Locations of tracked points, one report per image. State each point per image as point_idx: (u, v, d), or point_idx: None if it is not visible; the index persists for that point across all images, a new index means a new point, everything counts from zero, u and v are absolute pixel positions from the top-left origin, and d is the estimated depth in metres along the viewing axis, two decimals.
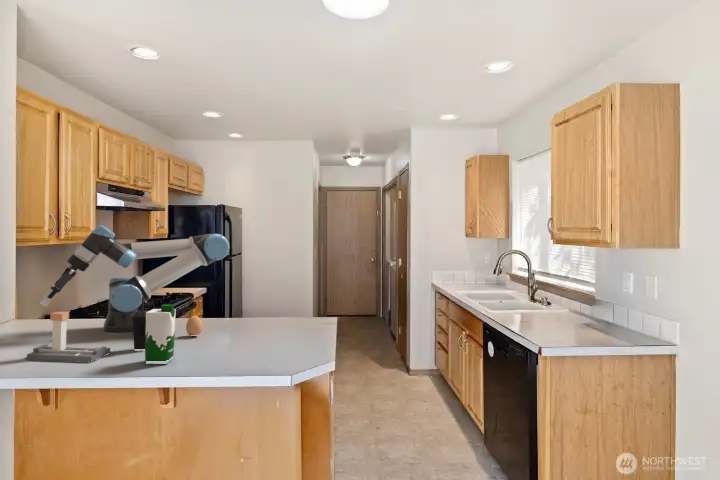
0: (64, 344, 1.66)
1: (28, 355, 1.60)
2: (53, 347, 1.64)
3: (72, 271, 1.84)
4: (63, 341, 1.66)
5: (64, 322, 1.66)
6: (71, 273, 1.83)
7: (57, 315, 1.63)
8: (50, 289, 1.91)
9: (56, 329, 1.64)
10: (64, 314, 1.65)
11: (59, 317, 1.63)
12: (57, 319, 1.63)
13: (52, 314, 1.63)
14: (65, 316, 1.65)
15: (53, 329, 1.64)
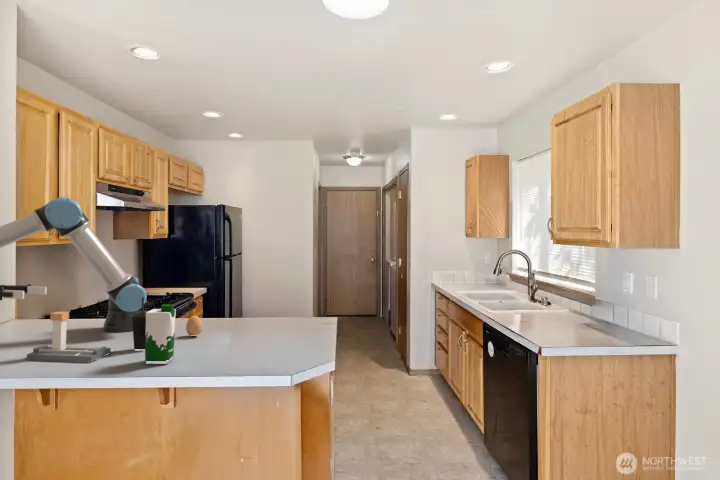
0: (64, 344, 1.66)
1: (28, 355, 1.60)
2: (53, 347, 1.64)
3: None
4: (63, 341, 1.66)
5: (64, 322, 1.66)
6: None
7: (57, 315, 1.63)
8: (33, 293, 1.70)
9: (56, 329, 1.64)
10: (64, 314, 1.65)
11: (59, 317, 1.63)
12: (57, 319, 1.63)
13: (52, 314, 1.63)
14: (65, 316, 1.65)
15: (53, 329, 1.64)
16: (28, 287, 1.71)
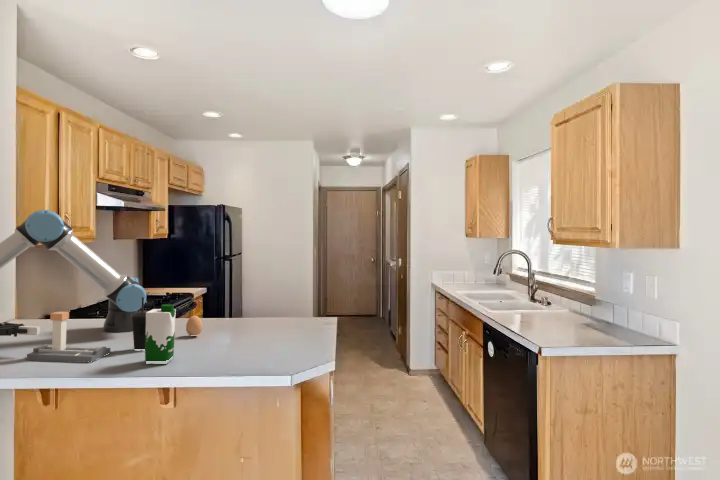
0: (64, 344, 1.66)
1: (28, 355, 1.60)
2: (53, 347, 1.64)
3: None
4: (63, 341, 1.66)
5: (64, 322, 1.66)
6: None
7: (57, 315, 1.63)
8: None
9: (56, 329, 1.64)
10: (64, 314, 1.65)
11: (59, 317, 1.63)
12: (57, 319, 1.63)
13: (52, 314, 1.63)
14: (65, 316, 1.65)
15: (53, 329, 1.64)
16: None
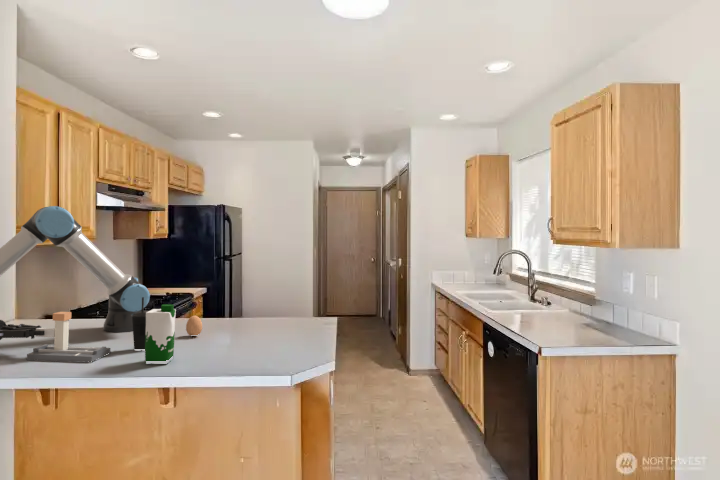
0: (66, 344, 1.66)
1: (28, 355, 1.60)
2: (55, 347, 1.64)
3: None
4: (65, 341, 1.66)
5: (67, 322, 1.66)
6: (0, 333, 1.59)
7: (59, 315, 1.63)
8: None
9: (58, 329, 1.64)
10: (66, 314, 1.65)
11: (61, 317, 1.63)
12: (59, 319, 1.63)
13: (54, 314, 1.63)
14: (67, 316, 1.65)
15: (55, 329, 1.64)
16: None
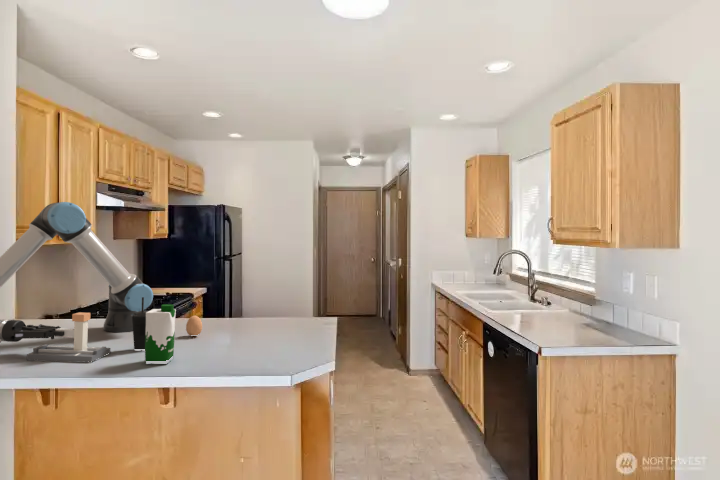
0: (85, 345, 1.66)
1: (28, 355, 1.60)
2: (75, 348, 1.64)
3: (17, 335, 1.59)
4: (85, 342, 1.66)
5: (86, 323, 1.66)
6: (20, 334, 1.59)
7: (79, 316, 1.63)
8: None
9: (78, 330, 1.64)
10: (86, 315, 1.65)
11: (81, 318, 1.63)
12: (79, 320, 1.63)
13: (74, 315, 1.63)
14: (86, 317, 1.65)
15: (75, 330, 1.64)
16: None
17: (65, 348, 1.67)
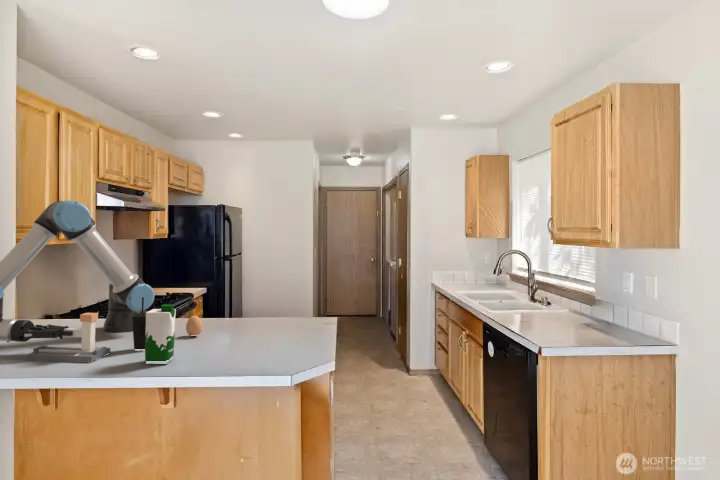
0: (93, 345, 1.66)
1: (28, 355, 1.60)
2: (83, 348, 1.64)
3: (26, 334, 1.59)
4: (92, 342, 1.66)
5: (93, 323, 1.66)
6: (29, 334, 1.60)
7: (87, 316, 1.63)
8: None
9: (86, 330, 1.64)
10: (93, 315, 1.65)
11: (88, 318, 1.63)
12: (87, 320, 1.63)
13: (82, 315, 1.63)
14: (94, 317, 1.65)
15: (83, 330, 1.64)
16: None
17: (65, 348, 1.67)
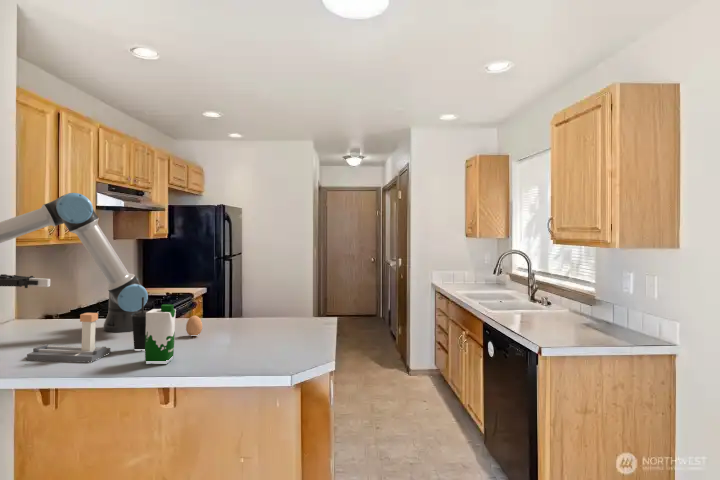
0: (93, 345, 1.66)
1: (28, 355, 1.60)
2: (83, 348, 1.64)
3: None
4: (92, 342, 1.66)
5: (93, 323, 1.66)
6: None
7: (87, 316, 1.63)
8: (36, 285, 1.65)
9: (86, 330, 1.64)
10: (93, 315, 1.65)
11: (88, 318, 1.63)
12: (87, 320, 1.63)
13: (82, 315, 1.63)
14: (94, 317, 1.65)
15: (83, 330, 1.64)
16: None
17: (65, 348, 1.67)
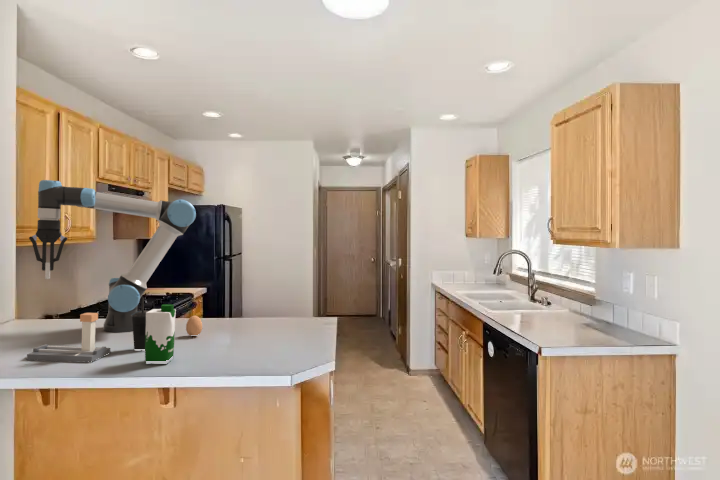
0: (93, 345, 1.66)
1: (28, 355, 1.60)
2: (83, 348, 1.64)
3: None
4: (92, 342, 1.66)
5: (93, 323, 1.66)
6: None
7: (87, 316, 1.63)
8: None
9: (86, 330, 1.64)
10: (93, 315, 1.65)
11: (88, 318, 1.63)
12: (87, 320, 1.63)
13: (82, 315, 1.63)
14: (94, 317, 1.65)
15: (83, 330, 1.64)
16: None
17: (65, 348, 1.67)
